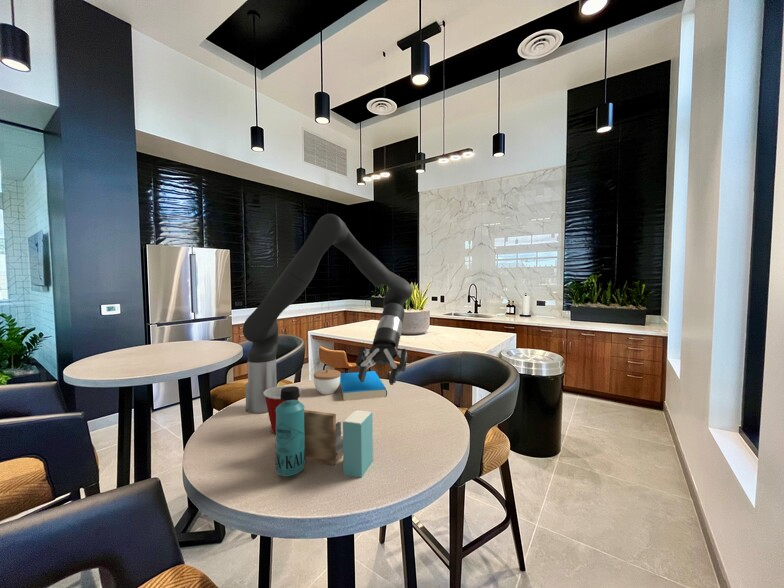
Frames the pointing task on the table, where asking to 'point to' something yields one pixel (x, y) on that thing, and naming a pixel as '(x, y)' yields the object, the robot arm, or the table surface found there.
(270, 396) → the plastic cup
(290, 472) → the beverage bottle
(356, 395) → the book
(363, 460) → the teal book
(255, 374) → the robot arm
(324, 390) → the lidded jar
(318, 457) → the shelf
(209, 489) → the table surface
